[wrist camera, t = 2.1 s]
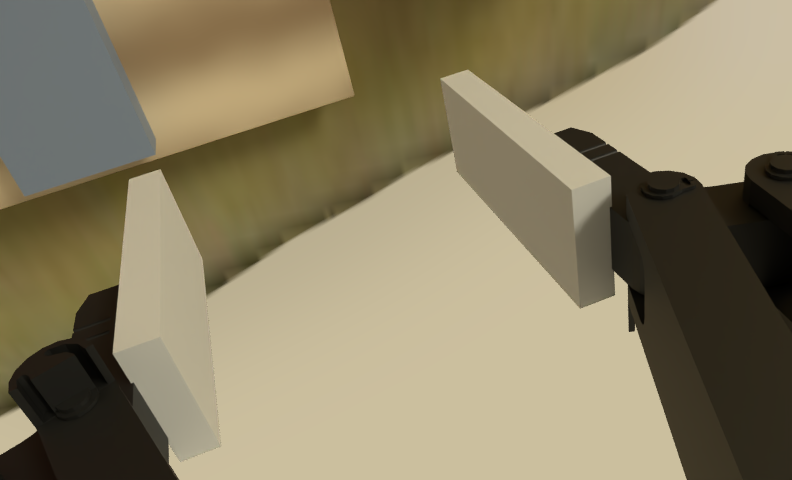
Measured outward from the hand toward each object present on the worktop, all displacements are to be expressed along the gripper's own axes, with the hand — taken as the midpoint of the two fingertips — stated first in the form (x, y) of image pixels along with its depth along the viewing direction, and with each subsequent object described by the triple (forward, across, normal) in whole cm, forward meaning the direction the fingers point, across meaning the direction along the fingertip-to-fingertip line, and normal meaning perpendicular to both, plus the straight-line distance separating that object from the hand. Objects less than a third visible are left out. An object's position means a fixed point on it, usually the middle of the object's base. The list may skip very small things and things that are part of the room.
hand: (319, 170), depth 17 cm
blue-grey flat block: (+17, -9, 0) cm, 19 cm away
